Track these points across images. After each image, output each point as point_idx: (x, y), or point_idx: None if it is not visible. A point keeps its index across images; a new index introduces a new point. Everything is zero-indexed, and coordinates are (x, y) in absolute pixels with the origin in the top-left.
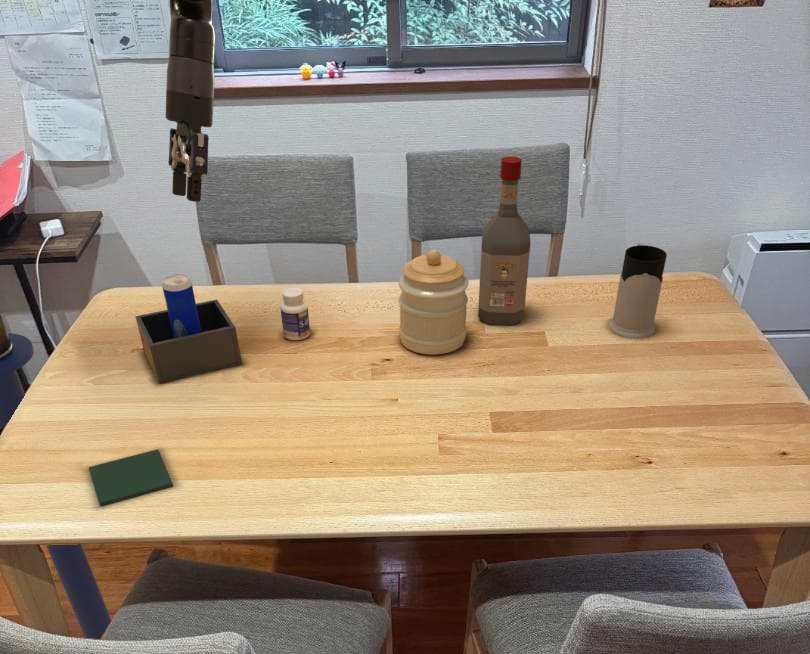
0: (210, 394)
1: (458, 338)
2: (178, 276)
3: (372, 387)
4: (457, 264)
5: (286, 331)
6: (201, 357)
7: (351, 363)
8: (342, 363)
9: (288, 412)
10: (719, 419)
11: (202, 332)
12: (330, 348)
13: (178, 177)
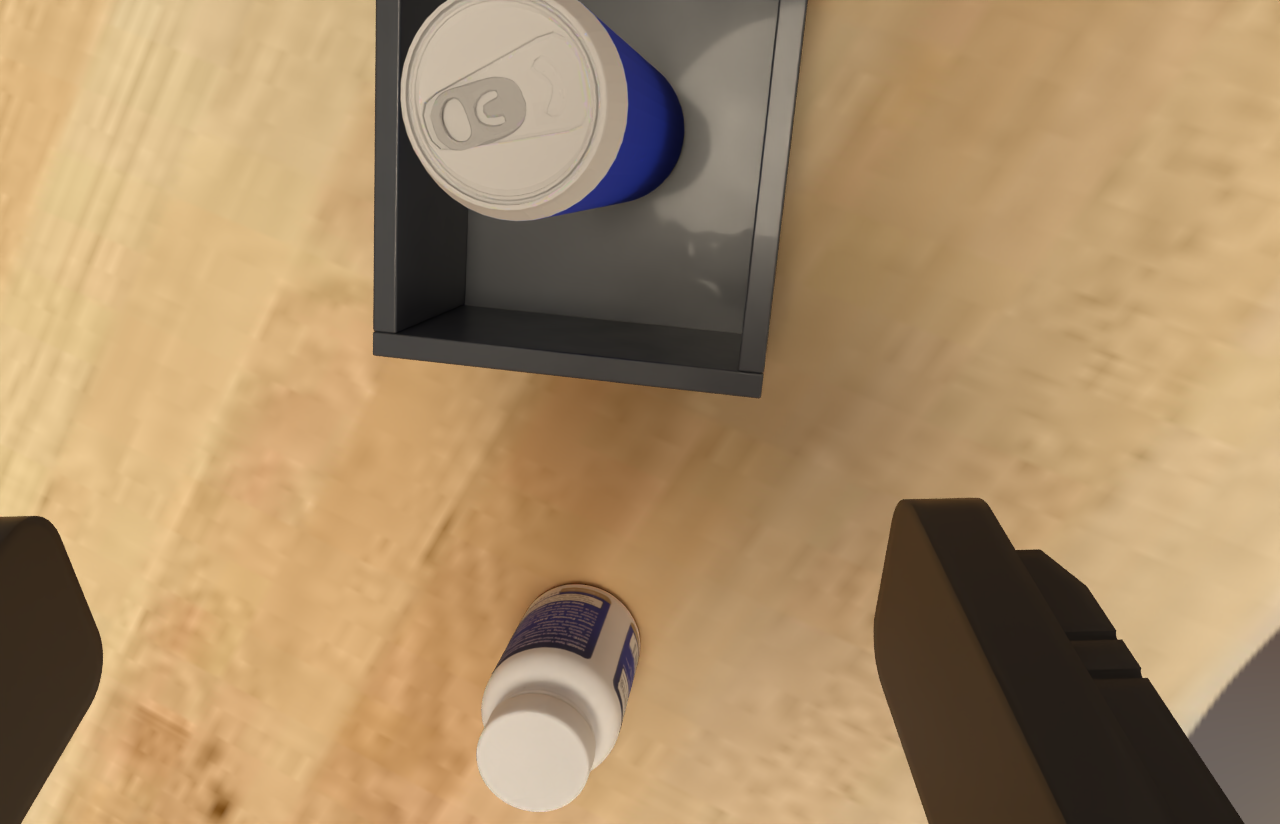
0: (265, 94)
1: None
2: (568, 143)
3: None
4: None
5: (549, 601)
6: None
7: (253, 694)
8: (268, 668)
9: (15, 330)
10: None
11: (394, 168)
12: (400, 689)
13: (1003, 805)
